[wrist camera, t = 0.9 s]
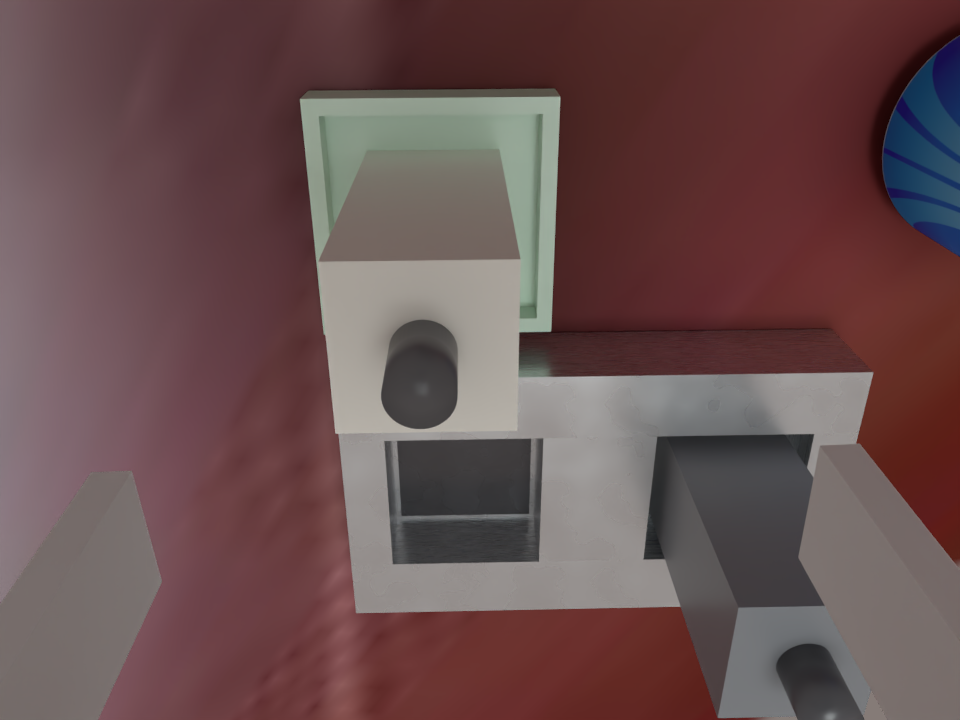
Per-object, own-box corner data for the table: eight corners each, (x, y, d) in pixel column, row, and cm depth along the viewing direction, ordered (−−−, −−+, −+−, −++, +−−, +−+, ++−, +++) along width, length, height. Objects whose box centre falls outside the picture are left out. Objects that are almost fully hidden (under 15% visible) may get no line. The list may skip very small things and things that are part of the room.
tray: (308, 90, 30) (299, 99, 29) (554, 88, 30) (560, 96, 29) (330, 316, 34) (324, 334, 33) (546, 313, 35) (551, 331, 33)
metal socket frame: (345, 335, 35) (333, 380, 31) (831, 328, 35) (873, 372, 32) (365, 554, 40) (356, 613, 37) (785, 546, 41) (816, 603, 37)
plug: (366, 150, 31) (301, 300, 18) (499, 149, 31) (527, 297, 18) (375, 274, 33) (322, 485, 20) (498, 273, 33) (523, 482, 20)
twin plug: (655, 410, 36) (763, 668, 23) (768, 408, 36) (937, 665, 23) (645, 501, 38) (739, 783, 26) (751, 500, 38) (897, 778, 26)
